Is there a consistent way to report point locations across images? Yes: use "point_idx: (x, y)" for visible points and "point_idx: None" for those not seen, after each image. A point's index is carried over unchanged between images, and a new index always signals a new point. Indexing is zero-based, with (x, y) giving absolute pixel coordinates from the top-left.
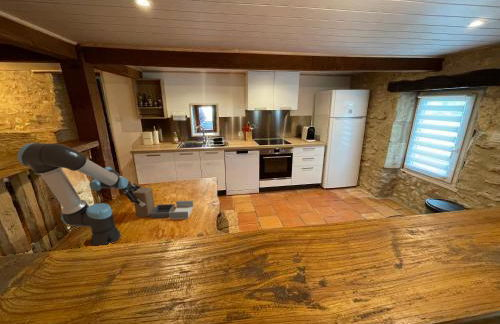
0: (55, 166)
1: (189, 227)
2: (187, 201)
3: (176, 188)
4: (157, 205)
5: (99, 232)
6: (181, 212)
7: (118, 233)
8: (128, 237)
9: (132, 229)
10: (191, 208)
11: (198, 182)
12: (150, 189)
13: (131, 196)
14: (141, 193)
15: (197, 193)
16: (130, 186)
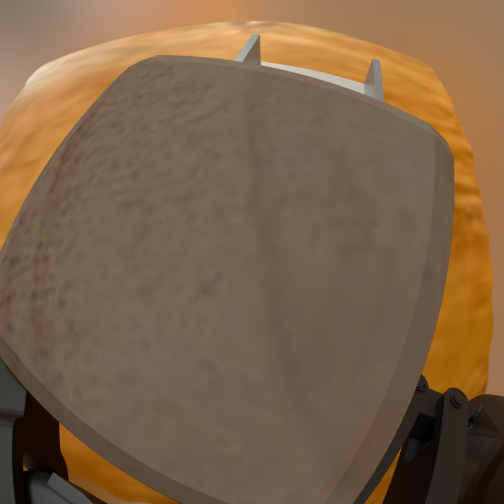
0: None
1: (429, 101)
2: (251, 47)
3: (10, 167)
4: None
5: None
6: (381, 78)
7: (496, 401)
8: (485, 354)
9: (434, 363)
10: (278, 66)
11: (30, 95)
12: (205, 59)
13: (447, 476)
14: (449, 225)
15: (118, 68)
16: None
